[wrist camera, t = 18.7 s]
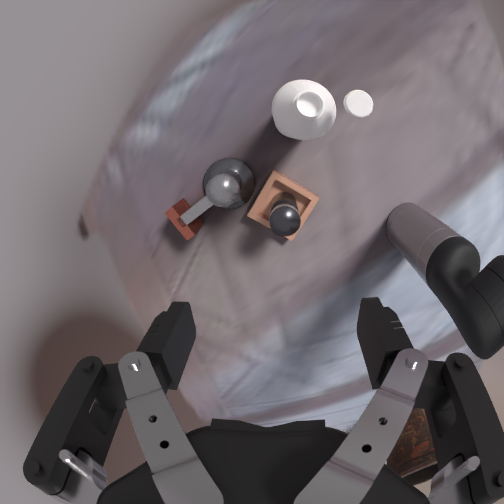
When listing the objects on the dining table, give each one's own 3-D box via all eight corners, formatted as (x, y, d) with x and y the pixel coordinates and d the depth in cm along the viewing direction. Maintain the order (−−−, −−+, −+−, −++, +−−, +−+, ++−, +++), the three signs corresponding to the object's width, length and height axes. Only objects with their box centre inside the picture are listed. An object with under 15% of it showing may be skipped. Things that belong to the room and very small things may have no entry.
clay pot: (414, 422, 77) (430, 484, 50) (357, 420, 75) (367, 495, 48) (457, 381, 66) (485, 447, 39) (403, 375, 65) (430, 460, 38)
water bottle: (276, 139, 44) (275, 144, 21) (271, 103, 41) (265, 70, 19) (327, 136, 43) (376, 140, 20) (323, 100, 40) (368, 68, 18)
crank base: (264, 173, 47) (263, 174, 46) (239, 216, 50) (239, 217, 49) (218, 149, 45) (217, 149, 45) (196, 192, 49) (195, 193, 48)
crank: (229, 162, 45) (222, 166, 40) (250, 189, 47) (246, 197, 41) (176, 203, 49) (164, 213, 44) (196, 228, 51) (187, 240, 45)
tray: (317, 195, 47) (319, 198, 45) (291, 235, 51) (291, 240, 49) (273, 169, 46) (273, 171, 44) (248, 211, 50) (247, 215, 48)
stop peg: (301, 200, 47) (307, 216, 38) (288, 220, 49) (290, 242, 40) (279, 186, 47) (279, 200, 37) (266, 208, 48) (263, 226, 39)
